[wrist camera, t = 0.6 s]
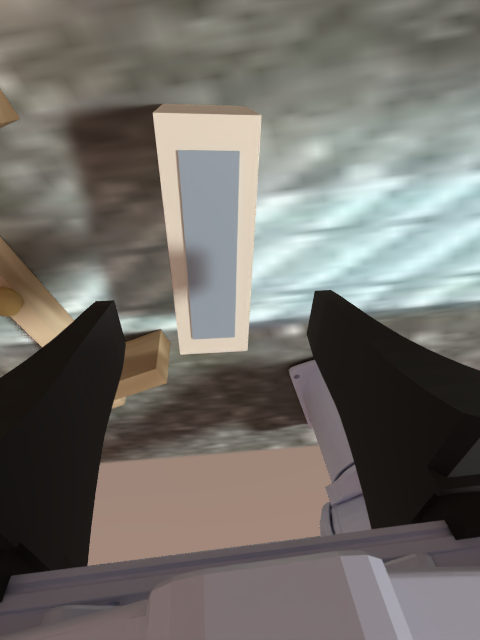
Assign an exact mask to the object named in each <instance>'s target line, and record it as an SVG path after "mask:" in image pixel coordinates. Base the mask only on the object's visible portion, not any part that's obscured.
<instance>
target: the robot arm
mask: <svg viewBox="0 0 480 640" xmlns="http://www.w3.org/2000/svg"><path fill="white" fill-rule="evenodd" d="M307 336H308V340H309V343H310V347H311V350H312V354H313V357H314V359H315V360H312V361H308V362H305V363H302V364H299V365H296V366H293V367H291V368H290V369H289V374H290V377H291V380H292V382H293V385H294V388H295V390H296V393H297V396H298V399H299V401H300V404H301V407H302V409H303V412H304V415H305V417H306V420H307V423H308V426H309V427H310V428H313V429H314V432H315V435H316V438H317V441H318V444H319V447H320V449H321V452H322V455H323V458H324V461H325V464H326V467H327V470H328V473H329V476H330V479H331V482H332V484H330V485H328V486H326V491H327V494H328V497H329V500H330V502H328V503H326V504H325V505H324V506H323V508H322V513H321V520H320V534H321V536H316V537H309V538H301V539H293V540H285V541H279V542H270V543H263V544H255V545H247V546H240V547H231V548H224V549H216V550H208V551H200V552H193V553H185V554H177V555H169V556H161V557H154V558H146V559H138V560H131V561H123V562H115V563H107V564H100V565H92V566H87V563H88V554H89V543H90V534H91V525H92V516H93V508H94V500H95V492H96V486H97V479H98V471H99V465H100V459H101V453H102V447H103V441H104V436H105V432H106V427H107V423H108V420H109V416H110V413H111V409H112V406H113V402H114V399H115V395H116V392H117V388H118V385H119V381H120V378H121V374H122V370H123V364H124V357H125V349H126V343H125V339H124V335H123V332H122V328H121V324H120V320H119V317H118V313H117V309H116V305H115V302H114V300H113V301H96V302H95V303H93V304H92V305H91V306H90V307H89V308H87V309H86V310H85V311H84V312H83V313H82V314H81V315H80V316H79V317H78V318H76V319H75V320H74V321H73V322H72V323H71V324H70V325H69V326H67V327H66V328H65V329H64V330H63V331H62V332H61V333H60V334H58V335H57V336H56V337H55V338H54V339H52V340H51V341H50V342H49V343H47V344H46V345H45V346H44V347H42V348H41V349H40V350H39V351H37V352H36V353H35V354H34V355H32V356H31V357H30V358H28V359H27V360H26V361H24V362H23V363H21V364H20V365H19V366H17V367H16V368H14V369H13V370H11V371H10V372H8V373H7V374H5V375H4V376H2V377H1V378H0V640H480V371H479V370H476V369H474V368H471V367H468V366H466V365H463V364H460V363H458V362H456V361H453V360H451V359H449V358H446V357H444V356H441V355H439V354H437V353H435V352H432V351H430V350H428V349H426V348H424V347H422V346H420V345H418V344H416V343H414V342H412V341H410V340H408V339H407V338H405V337H403V336H401V335H399V334H398V333H396V332H394V331H393V330H391V329H389V328H388V327H386V326H384V325H383V324H381V323H380V322H378V321H376V320H375V319H373V318H372V317H370V316H369V315H367V314H366V313H364V312H363V311H361V310H360V309H358V308H357V307H356V306H354V305H353V304H351V303H350V302H348V301H347V300H345V299H344V298H343V297H341V296H340V295H338V294H336V293H335V292H333V291H331V290H323V291H315V293H314V298H313V304H312V309H311V314H310V319H309V325H308V330H307Z"/></svg>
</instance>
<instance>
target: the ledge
mask: <svg viewBox="0 0 480 640" xmlns="http://www.w3.org/2000/svg"><path fill="white" fill-rule="evenodd" d="M19 119H20V118H19V116H18V115H17V113H16V112H15V110H14V109H13V107H12V106H11V104H10V103H9V101H8V100H7V98H6V97H5V95H4V94H3V92H2V91H1V89H0V128H1V127H3V126H6V125H8V124H10V123H12V122H14V121H16V120H19ZM0 315H1V316H7V317H9V316H10V317H11V318H12V319H13V320H14V321H15V322H17V323H18V324H19V325H20V326H21V327H22V328H23V329H24V330H25V331H26V332H27V333H28V334H29V335H30V336H31V337H32V338H33V339H34V340H35V341H36V342H37V343H38V344H39V345H40V346H41V347H44V346H45V345H46V344H47V343H49V342H50V341H51V340H52V339H54V338H55V337H56V336H57V335H58V334H60V333H61V332H62V331H63V330H64V329H65V328H66V327H67V326H69V325H70V324H71V323H72V322H73V321H74V320H73V319H72V318H71V316H70V315H69V314H68V313H67V312H66V311H65V310H64V308H63V307H62V306H61V305H60V304H59V303H58V302H57V300H56V299H55V298H54V297H53V296H52V295H51V294H50V293H49V291H48V290H47V289H46V288H45V287H44V286H43V285H42V283H41V282H40V281H39V280H38V279H37V278H36V277H35V276H34V274H33V273H32V272H31V271H30V270H29V269H28V268H27V266H26V265H25V264H24V263H23V262H22V261H21V260H20V258H19V257H18V256H17V255H16V254H15V253H14V252H13V251H12V249H11V248H10V247H9V246H8V245H7V244H6V243H5V241H4V240H3V239H2V238H1V237H0ZM125 343H126V349H125V357H124V364H123V370H122V374H121V378H120V381H119V385H118V388H117V392H116V395H115V399H114V402H113V406H112V408H115V407H118V406H121V405H124V404H125V400H126V396H129V395H132V394H135V393H138V392H141V391H144V390H147V389H150V388H153V387H156V386H159V385H162V384H165V383H167V376H168V364H169V353H170V342H169V341H168V339H167V338H166V336H165V335H164V333H163V332H162V330H158V331H155V332H152V333H149V334H147V335H144V336H141V337H138V338H135V339H132V340H130V341H127V342H125Z"/></svg>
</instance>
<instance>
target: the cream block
mask: <svg viewBox="0 0 480 640" xmlns="http://www.w3.org/2000/svg"><path fill="white" fill-rule="evenodd" d="M153 120H154V128H155V137H156V146H157V155H158V163H159V172H160V181H161V190H162V198H163V207H164V216H165V225H166V233H167V242H168V251H169V260H170V268H171V277H172V286H173V295H174V303H175V312H176V321H177V330H178V338H179V347H180V355H181V354H198V353H216V352H233V351H247V349H248V332H249V315H250V299H251V282H252V265H253V249H254V232H255V215H256V198H257V182H258V165H259V148H260V132H261V115H260V114H258V113H256V112H255V111H253V110H251V109H249V108H247V107H246V106H221V105H185V104H162V105H161V106H160V107H159V108H158V109H156V110H155V111H154V112H153Z"/></svg>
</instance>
